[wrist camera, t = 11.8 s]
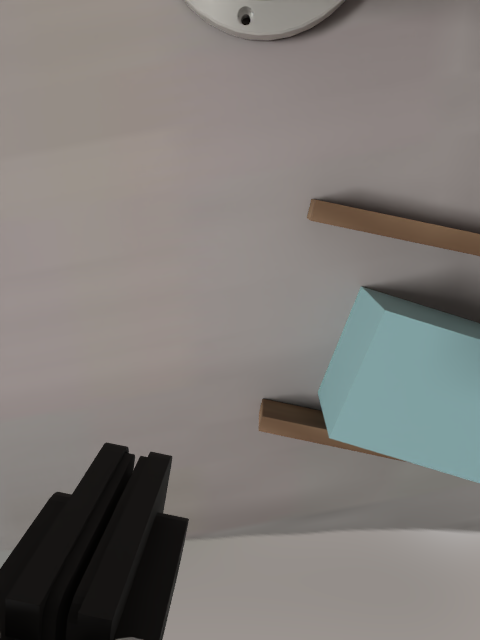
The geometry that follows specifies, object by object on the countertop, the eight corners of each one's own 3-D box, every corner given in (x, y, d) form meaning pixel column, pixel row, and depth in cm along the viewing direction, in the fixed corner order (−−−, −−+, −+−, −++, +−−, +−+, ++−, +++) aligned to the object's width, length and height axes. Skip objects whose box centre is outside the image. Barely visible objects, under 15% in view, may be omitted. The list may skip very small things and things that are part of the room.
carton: (360, 285, 27) (385, 310, 22) (524, 336, 28) (591, 374, 22) (317, 391, 30) (329, 438, 24) (467, 436, 30) (514, 493, 25)
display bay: (311, 198, 26) (316, 199, 23) (590, 257, 26) (623, 264, 23) (259, 412, 31) (258, 430, 28) (492, 461, 31) (511, 483, 28)
